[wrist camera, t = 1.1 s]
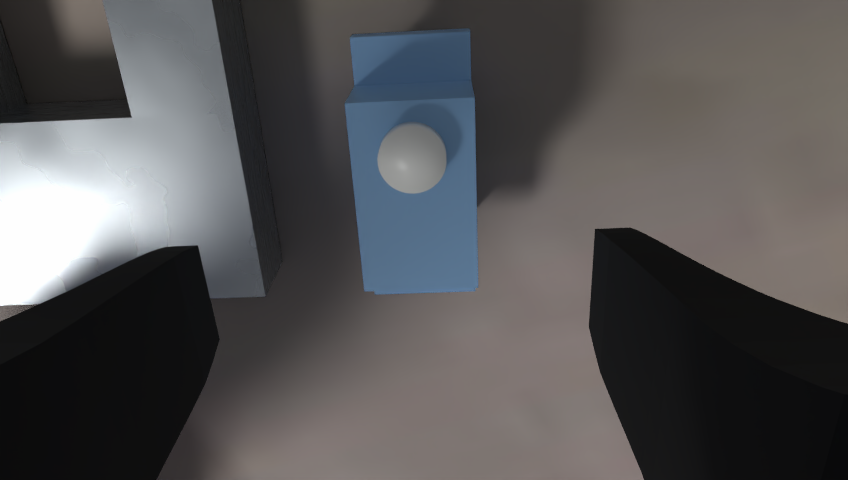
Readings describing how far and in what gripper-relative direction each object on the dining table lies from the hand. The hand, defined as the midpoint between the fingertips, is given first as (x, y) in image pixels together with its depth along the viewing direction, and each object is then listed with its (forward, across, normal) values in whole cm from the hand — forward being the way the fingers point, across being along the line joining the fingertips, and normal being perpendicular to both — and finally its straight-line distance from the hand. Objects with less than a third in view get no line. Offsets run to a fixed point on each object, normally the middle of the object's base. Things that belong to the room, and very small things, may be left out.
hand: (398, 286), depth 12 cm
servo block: (+10, 0, 0) cm, 10 cm away
